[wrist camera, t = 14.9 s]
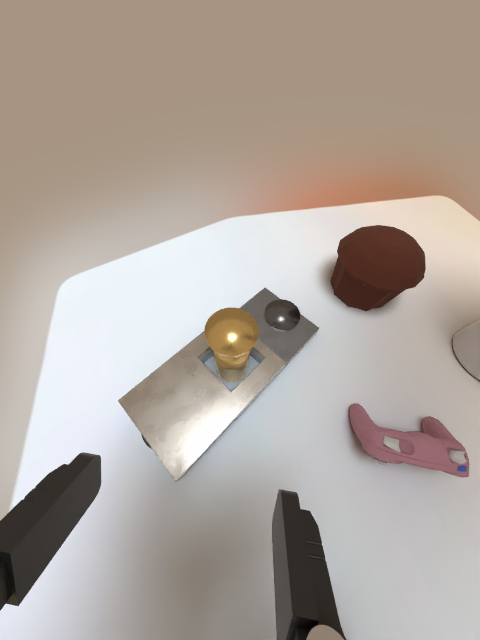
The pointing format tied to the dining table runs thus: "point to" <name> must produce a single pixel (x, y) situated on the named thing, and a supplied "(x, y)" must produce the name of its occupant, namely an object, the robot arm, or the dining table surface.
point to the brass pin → (231, 341)
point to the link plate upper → (192, 403)
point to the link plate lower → (277, 327)
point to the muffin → (376, 266)
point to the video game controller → (411, 444)
